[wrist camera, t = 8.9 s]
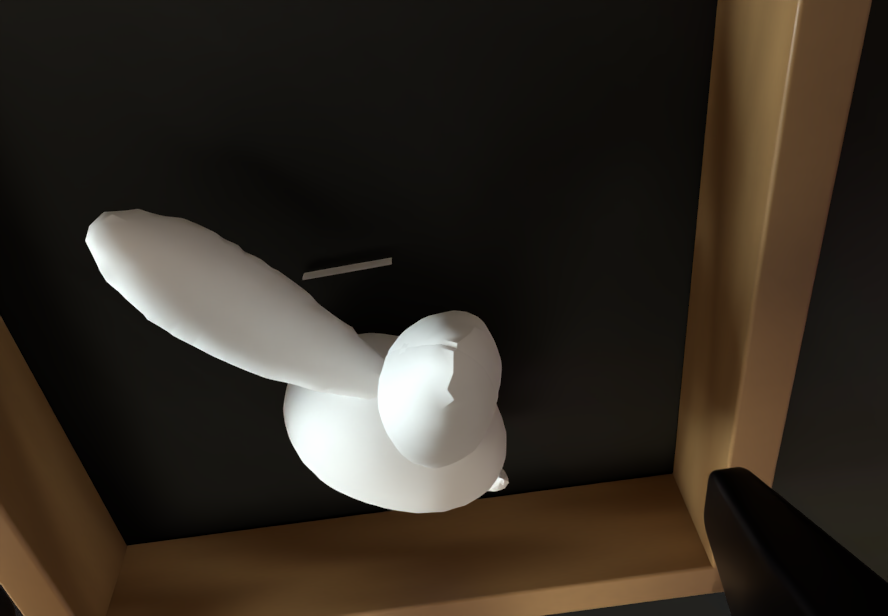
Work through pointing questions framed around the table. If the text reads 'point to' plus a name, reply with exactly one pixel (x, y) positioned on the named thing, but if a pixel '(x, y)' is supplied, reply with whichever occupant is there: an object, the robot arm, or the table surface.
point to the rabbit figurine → (325, 364)
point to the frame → (534, 513)
